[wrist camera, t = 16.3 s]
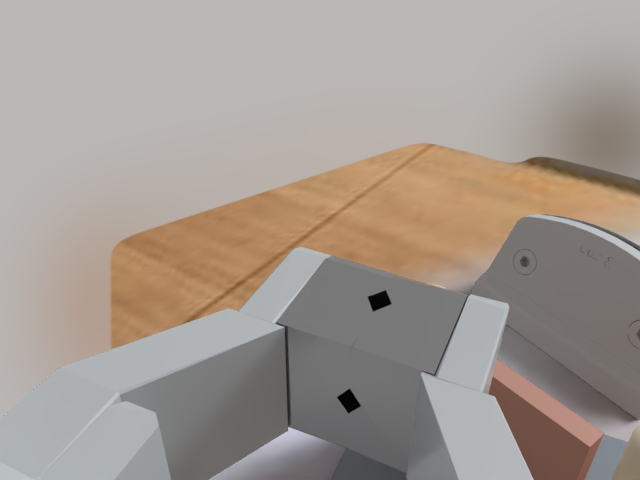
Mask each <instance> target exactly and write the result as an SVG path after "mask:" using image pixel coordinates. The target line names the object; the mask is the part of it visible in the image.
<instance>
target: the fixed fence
mask: <svg viewBox="0 0 640 480" xmlns="http://www.w3.org/2000/svg"><path fill="white" fill-rule="evenodd" d="M611 480H640V426H639V427H637V428H636V429H635V430H634V431H633V433H632V436H631V438H630V440H629V442H628V444H627V446H626V449H625V451H624V453H623V455H622V457H621V459H620V461H619V464H618V466H617V468H616V470H615V472H614V474H613V477H612V479H611Z"/></svg>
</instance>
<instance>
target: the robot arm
mask: <svg viewBox="0 0 640 480" xmlns="http://www.w3.org/2000/svg"><path fill="white" fill-rule="evenodd" d="M508 312H509V305H508V303H504V302H500V301H496V300H492V299H488V298H484V297H480V296H476V295H472V294H471V295H467V294H463V293H460V292H456V291H452V290H449V289H445V288H441V287H438V286H434V285H430V284H427V283H423V282H419V281H416V280H412V279H408V278H405V277H401V276H398V275H395V274H392V273H389V272H385V271H382V270H379V269H376V268H372V267H369V266H366V265H362V264H359V263H356V262H352V261H349V260H346V259H342V258H339V257H336V256H330V255H328V254H324V253H321V252H317V251H314V250H310V249H307V248H304V247H298V248H295V249H293V250H292V251H291V252H290V253H289V254H288V255H287V256H286V257H285V259H284V260H283V261H282V262H281V263H280V264H279V265H278V266H277V268H276V269H275V270H274V271H273V272H272V273H271V274H270V276H269V277H268V278H267V279H266V280H265V281H264V282H263V283H262V285H261V286H260V287H259V288H258V289H257V290H256V291H255V293H254V294H253V295H252V296H251V297H250V298H249V299H248V300H247V302H246V303H245V304H244V305H243V306H242V307H241V308H240V309H239V311H235V310H232V309H229V308H228V309H226V310H223V311H220V312H217V313H214V314H211V315H208V316H206V317H203V318H200V319H197V320H194V321H191V322H188V323H186V324H183V325H180V326H177V327H174V328H171V329H168V330H166V331H163V332H160V333H157V334H154V335H151V336H149V337H146V338H143V339H140V340H137V341H134V342H131V343H129V344H126V345H123V346H120V347H117V348H114V349H111V350H109V351H106V352H103V353H100V354H97V355H94V356H91V357H89V358H86V359H83V360H80V361H77V362H75V363H71V364H69V365H66V366H63V367H60V368H58V369H57V370H55V371H54V372H53V373H52V374H51V375H50V376H49V377H48V378H46V379H45V380H44V381H43V382H42V383H41V384H40V385H39V386H37V387H36V388H35V389H34V390H33V391H32V392H31V393H30V394H28V395H27V396H26V397H25V398H24V399H23V400H22V401H20V402H19V403H18V404H17V405H16V406H15V407H14V408H13V409H11V410H10V411H9V412H8V413H7V414H6V415H5V416H4V417H2V418H1V419H0V480H208V479H210V478H211V477H213V476H215V475H216V474H218V473H219V472H221V471H223V470H224V469H226V468H228V467H229V466H231V465H233V464H234V463H236V462H237V461H239V460H241V459H242V458H244V457H246V456H247V455H249V454H251V453H252V452H254V451H255V450H257V449H259V448H260V447H262V446H264V445H265V444H267V443H268V442H270V441H272V440H273V439H275V438H277V437H278V436H280V435H282V434H283V433H285V432H286V431H288V427H290V428H293V429H296V430H299V431H301V432H304V433H307V434H310V435H312V436H315V437H318V438H321V439H323V440H326V441H329V442H332V443H335V444H337V445H340V446H343V447H346V448H348V449H350V450H353V451H355V452H357V453H360V454H362V455H364V456H367V457H369V458H372V459H374V460H376V461H379V462H381V463H383V464H386V465H388V466H390V467H393V468H395V469H398V470H400V471H402V472H405V473H407V475H406V478H407V480H533V477H532V475H531V473H530V471H529V469H528V467H527V464H526V462H525V460H524V458H523V456H522V454H521V451H520V449H519V447H518V445H517V443H516V441H515V439H514V436H513V434H512V432H511V430H510V428H509V426H508V423H507V421H506V419H505V417H504V415H503V413H502V411H501V408H500V406H499V404H498V402H497V400H496V398H495V397H494V396H492V395H489V394H488V393H489V389H490V385H491V381H492V377H493V373H494V369H495V365H496V361H497V357H498V353H499V349H500V345H501V341H502V337H503V333H504V329H505V325H506V321H507V317H508Z"/></svg>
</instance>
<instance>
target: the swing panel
mask: <svg viewBox="0 0 640 480" xmlns="http://www.w3.org/2000/svg"><path fill="white" fill-rule="evenodd" d="M430 285H434V284H430ZM434 286H438V287H441V288H444V287H442V286H439V285H434ZM445 289H447V288H445ZM488 394H489V395H492V396H494V397H495V398H496V400H497V402H498V404H499V406H500V408H501V411H502V413H503V415H504V417H505V419H506V421H507V423H508V426H509V428H510V430H511V432H512V434H513V436H514V439H515V441H516V443H517V445H518V447H519V449H520V451H521V454H522V456H523V458H524V460H525V462H526V464H527V467H528V469H529V471H530V473H531V475H532V477H533V480H585V478H586V475H587V473H588V471H589V468H590V466H591V464H592V461H593V459H594V457H595V454H596V452H597V449H598V447H599V445H600V442H601V440H602V438H603V435H604V433H603V432H601V431H600V430H598V429H597V428H596V427H594V426H593V425H591V424H590V423H588V422H587V421H586V420H584V419H583V418H581V417H580V416H578V415H577V414H576V413H574V412H573V411H571V410H570V409H568V408H567V407H566V406H564V405H563V404H561V403H560V402H558V401H557V400H556V399H554V398H553V397H551V396H550V395H548V394H547V393H546V392H544V391H543V390H541V389H540V388H538V387H537V386H536V385H534V384H533V383H531V382H530V381H528V380H527V379H525V378H524V377H523V376H521V375H520V374H518V373H517V372H515V371H514V370H513V369H511V368H510V367H508V366H507V365H505V364H504V363H503V362H501V361H500V360H498V359H497V361H496V365H495V369H494V373H493V377H492V381H491V385H490V389H489V393H488Z"/></svg>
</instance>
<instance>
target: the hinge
mask: <svg viewBox="0 0 640 480" xmlns="http://www.w3.org/2000/svg"><path fill="white" fill-rule="evenodd" d="M471 294H472V295H476V296H480V297H484V298H488V299H492V300H496V301H500V302H504V303H508V305H509V312H508V317H507V321H506V325H508V326H509V327H511V328H512V329H513V330H515V331H516V332H517V333H519V334H520V335H522V336H523V337H524V338H526V339H527V340H528V341H530V342H531V343H533V344H534V345H535V346H537V347H538V348H539V349H541V350H542V351H544V352H545V353H546V354H548V355H549V356H550V357H552V358H553V359H555V360H556V361H557V362H559V363H560V364H561V365H563V366H564V367H566V368H567V369H568V370H570V371H571V372H572V373H574V374H575V375H577V376H578V377H579V378H581V379H582V380H583V381H585V382H586V383H588V384H589V385H590V386H592V387H593V388H595V389H596V390H597V391H599V392H600V393H601V394H603V395H604V396H606V397H607V398H608V399H610V400H611V401H612V402H614V403H615V404H617V405H618V406H619V407H621V408H622V409H623V410H625V411H626V412H628V413H629V414H630V415H632V416H633V417H634V418H636V419H637V420H639V419H640V245H638V244H636V243H635V242H633V241H631V240H629V239H627V238H625V237H623V236H621V235H619V234H616V233H614V232H612V231H610V230H608V229H605V228H602V227H599V226H597V225H594V224H591V223H588V222H585V221H580V220H576V219H572V218H568V217H562V216H554V215H546V214H543V215H538V214H533V215H529V216H526V217H523V218H521V219H520V220H519V221H518V222H517V223H516V225H515V226H514V228H513V230H512V231H511V233H510V235H509V236H508V238H507V240H506V241H505V243H504V244H503V246H502V248H501V249H500V251H499V253H498V254H497V256H496V258H495V259H494V261H493V262H492V264H491V266H490V267H489V269H488V270H487V271H486V272H485V273H484V274H483V275H482V276H481V277H480V278H479V279H478V280H477V281H476V283H475V285H474V287H473V289H472V292H471ZM471 294H470V295H471Z"/></svg>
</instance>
